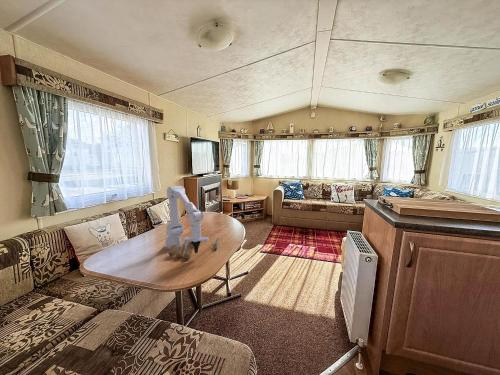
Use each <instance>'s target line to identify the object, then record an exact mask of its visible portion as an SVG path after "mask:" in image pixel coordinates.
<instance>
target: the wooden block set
mask: <svg viewBox="0 0 500 375" xmlns="http://www.w3.org/2000/svg"><path fill="white" fill-rule="evenodd" d="M194 248H195V247H194V246H193V244H191V241H189V243H188V245H187V248H186V250H185V251H184V250H183V246H181V247H177V246H176V245H173V246H171V248H170V249H168V255H169V256H170V257H173V256H176V257H177V258H182V257H183V258H184V259H187V260H189V259H191V255H192V254H193V250H194Z"/></svg>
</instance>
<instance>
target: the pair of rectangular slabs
mask: <svg viewBox="0 0 500 375" xmlns="http://www.w3.org/2000/svg"><path fill="white" fill-rule="evenodd" d="M219 241H220V240H219V237H216V239H215V243H214V251H217V250H218V246H219ZM189 242H190V241H186V242H183V244H182V249H183V250H184V252H185V250H186V248H187V245H188V243H189Z"/></svg>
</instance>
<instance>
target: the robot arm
mask: <svg viewBox="0 0 500 375" xmlns="http://www.w3.org/2000/svg"><path fill="white" fill-rule="evenodd" d="M166 198H167V199H168V206H169V217H170V223H168V225H166V230H165V232H166V235H167V236H166V238H165V249H167V250H170V248H171V246H173V245H176V246H177V247H182V242H181V241H182V239H181V238H182V237H181V236H182V234H183V233H184V227H183V223H181V222H179V221H180V220H179V208H178V199H179V200H180V201H181V202H182V204H184V206H183V208H184V209H185V212H186V213H187V214H188V220H189V224H190V233H191V234H190V236H186V237H184V238H183V243H185V242H186V241H189V242H191V244H193V246H194V247H195V248H194V249H193V250H194V253H195V254H198V252H199V247H200V245H201V243H202V242H206V243H207V242H209V237H205V236H202V220H203V218H204V216H203V212H202V211H201V210H200V209H197V207H196V206H195V204H194V203H193V202H192V201H190V200H189V198H188V196H187V194H186V189H185V187H184V185H175V186H168V187H167V189H166Z"/></svg>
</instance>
